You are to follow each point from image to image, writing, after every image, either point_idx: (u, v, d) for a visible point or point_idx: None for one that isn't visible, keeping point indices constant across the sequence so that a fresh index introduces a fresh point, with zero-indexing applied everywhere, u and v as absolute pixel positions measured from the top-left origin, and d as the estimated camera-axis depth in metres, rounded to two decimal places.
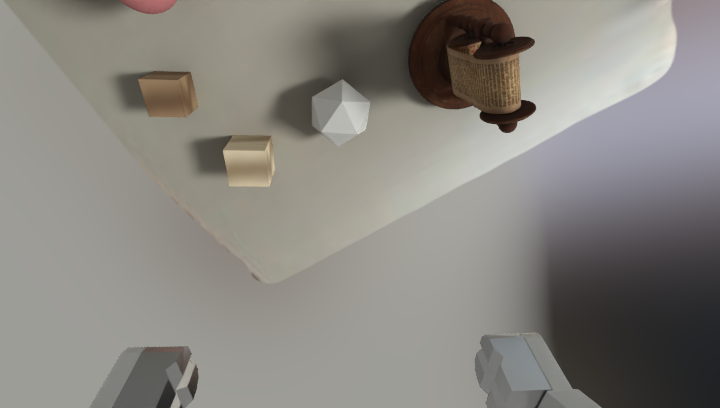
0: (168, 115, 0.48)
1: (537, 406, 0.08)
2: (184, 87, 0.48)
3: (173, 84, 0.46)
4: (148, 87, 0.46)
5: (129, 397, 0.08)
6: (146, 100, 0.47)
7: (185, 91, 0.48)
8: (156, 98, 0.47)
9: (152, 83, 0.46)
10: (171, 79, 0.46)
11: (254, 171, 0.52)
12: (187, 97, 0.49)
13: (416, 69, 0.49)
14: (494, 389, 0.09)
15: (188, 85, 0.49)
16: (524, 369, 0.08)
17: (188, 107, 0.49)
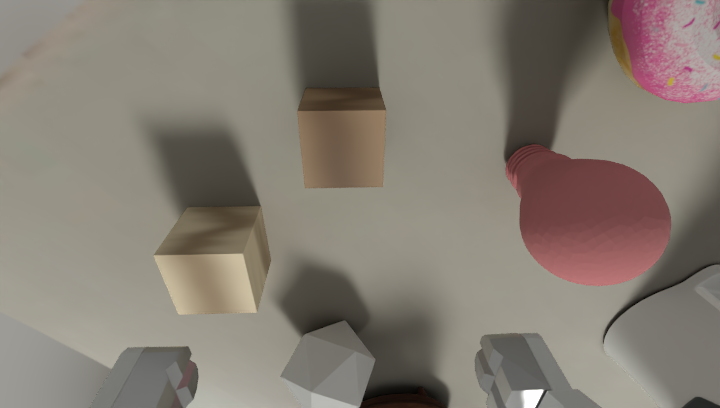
0: (304, 154, 0.21)
1: (537, 406, 0.08)
2: None
3: (374, 178, 0.22)
4: (367, 127, 0.20)
5: (129, 397, 0.08)
6: (337, 115, 0.20)
7: None
8: (342, 138, 0.20)
9: (376, 138, 0.20)
10: None
11: (206, 296, 0.26)
12: None
13: None
14: (494, 389, 0.09)
15: None
16: (524, 369, 0.08)
17: None
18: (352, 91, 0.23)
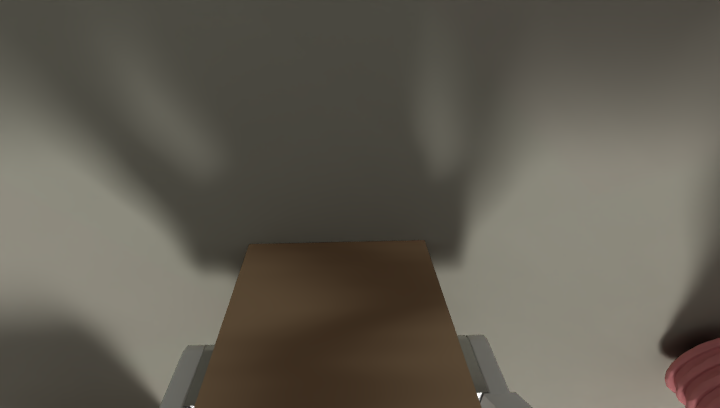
0: None
1: None
2: None
3: None
4: None
5: None
6: None
7: None
8: None
9: None
10: None
11: None
12: None
13: None
14: None
15: None
16: None
17: None
18: (363, 266, 0.09)
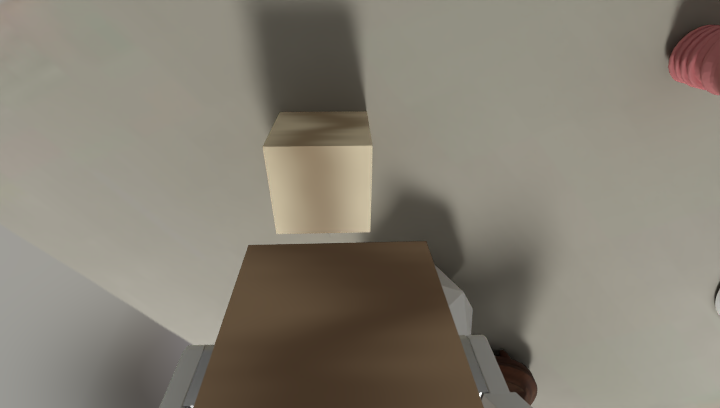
0: None
1: None
2: None
3: None
4: None
5: None
6: None
7: None
8: None
9: None
10: None
11: (314, 207, 0.21)
12: None
13: None
14: None
15: None
16: None
17: None
18: (364, 268, 0.09)
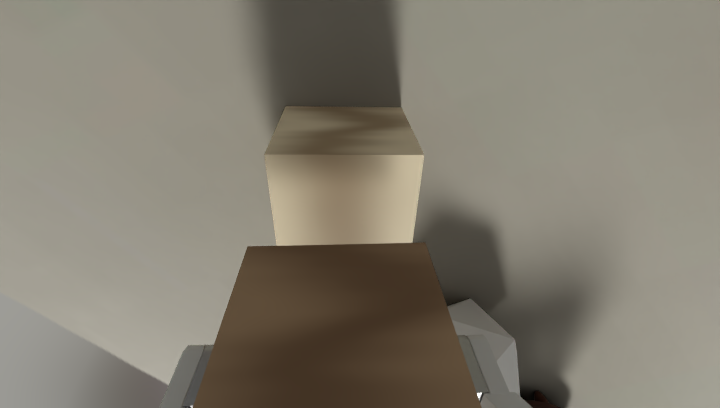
0: None
1: None
2: None
3: None
4: None
5: None
6: None
7: None
8: None
9: None
10: None
11: (335, 239, 0.15)
12: None
13: None
14: None
15: None
16: None
17: None
18: (363, 269, 0.09)
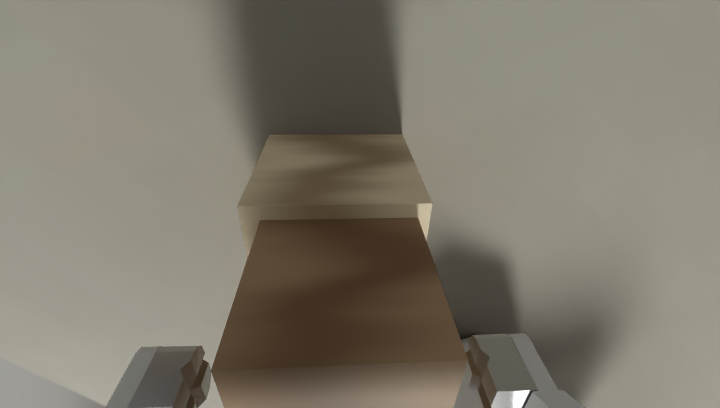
0: None
1: (523, 407, 0.08)
2: None
3: None
4: (411, 391, 0.07)
5: (145, 396, 0.08)
6: (328, 374, 0.07)
7: None
8: None
9: (432, 406, 0.08)
10: None
11: None
12: None
13: None
14: (481, 390, 0.09)
15: None
16: (510, 370, 0.08)
17: None
18: (362, 239, 0.10)
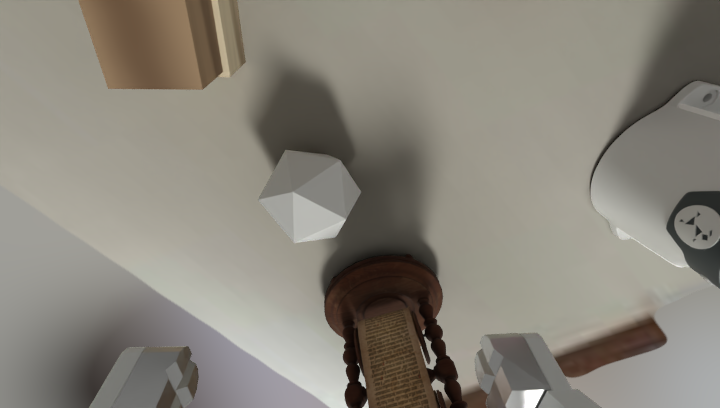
0: (96, 42, 0.18)
1: (537, 406, 0.08)
2: None
3: (189, 77, 0.19)
4: (165, 8, 0.17)
5: (129, 397, 0.08)
6: None
7: None
8: (138, 21, 0.18)
9: (179, 23, 0.18)
10: (200, 71, 0.19)
11: None
12: None
13: (372, 271, 0.39)
14: (494, 389, 0.09)
15: None
16: (524, 369, 0.08)
17: None
18: None
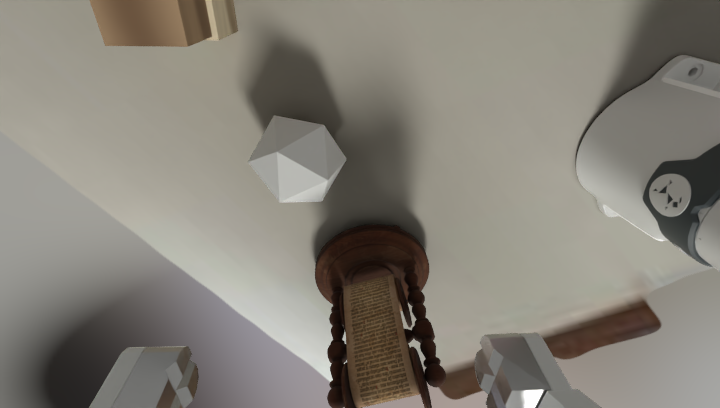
0: (93, 2, 0.20)
1: (537, 406, 0.08)
2: None
3: (175, 35, 0.21)
4: None
5: (129, 397, 0.08)
6: None
7: None
8: None
9: None
10: (186, 29, 0.22)
11: None
12: None
13: (359, 238, 0.41)
14: (494, 389, 0.09)
15: None
16: (524, 369, 0.08)
17: None
18: None
